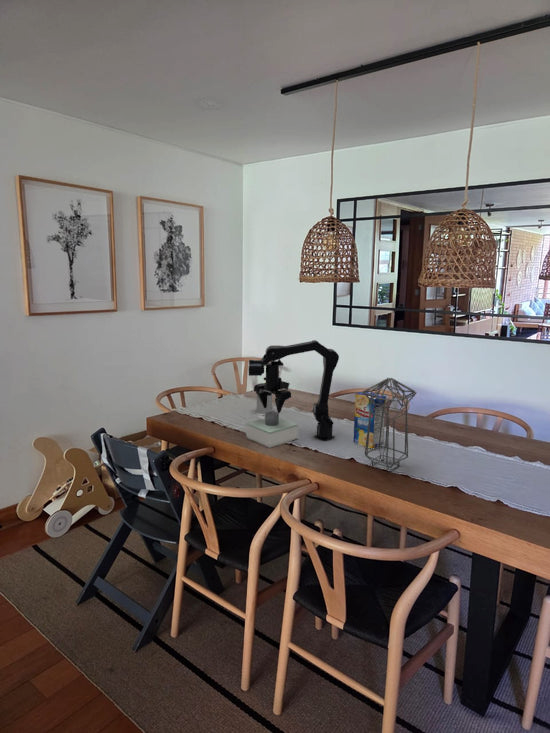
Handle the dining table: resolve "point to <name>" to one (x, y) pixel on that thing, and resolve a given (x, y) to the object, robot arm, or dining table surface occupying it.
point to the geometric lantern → (380, 386)
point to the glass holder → (269, 404)
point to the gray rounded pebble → (271, 418)
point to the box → (271, 436)
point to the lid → (271, 429)
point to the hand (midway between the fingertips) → (272, 410)
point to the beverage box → (363, 419)
